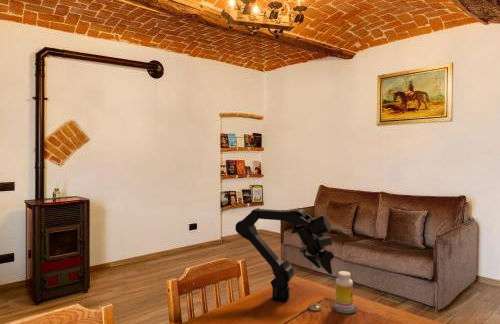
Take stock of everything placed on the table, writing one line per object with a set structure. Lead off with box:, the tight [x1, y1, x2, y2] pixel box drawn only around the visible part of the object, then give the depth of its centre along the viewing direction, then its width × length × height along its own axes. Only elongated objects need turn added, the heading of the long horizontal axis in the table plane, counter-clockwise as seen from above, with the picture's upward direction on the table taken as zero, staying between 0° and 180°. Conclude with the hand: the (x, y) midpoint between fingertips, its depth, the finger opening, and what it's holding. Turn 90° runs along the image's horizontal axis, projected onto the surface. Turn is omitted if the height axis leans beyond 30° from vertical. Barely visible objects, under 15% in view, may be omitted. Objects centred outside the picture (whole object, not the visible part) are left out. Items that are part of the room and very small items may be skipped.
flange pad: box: [332, 302, 357, 315], centre depth 139 cm, size 9×9×1 cm
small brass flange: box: [308, 302, 323, 312], centre depth 139 cm, size 5×5×1 cm
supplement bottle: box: [334, 270, 354, 308], centre depth 139 cm, size 7×7×13 cm
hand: (325, 270), depth 144 cm, fingers open, 9 cm apart
